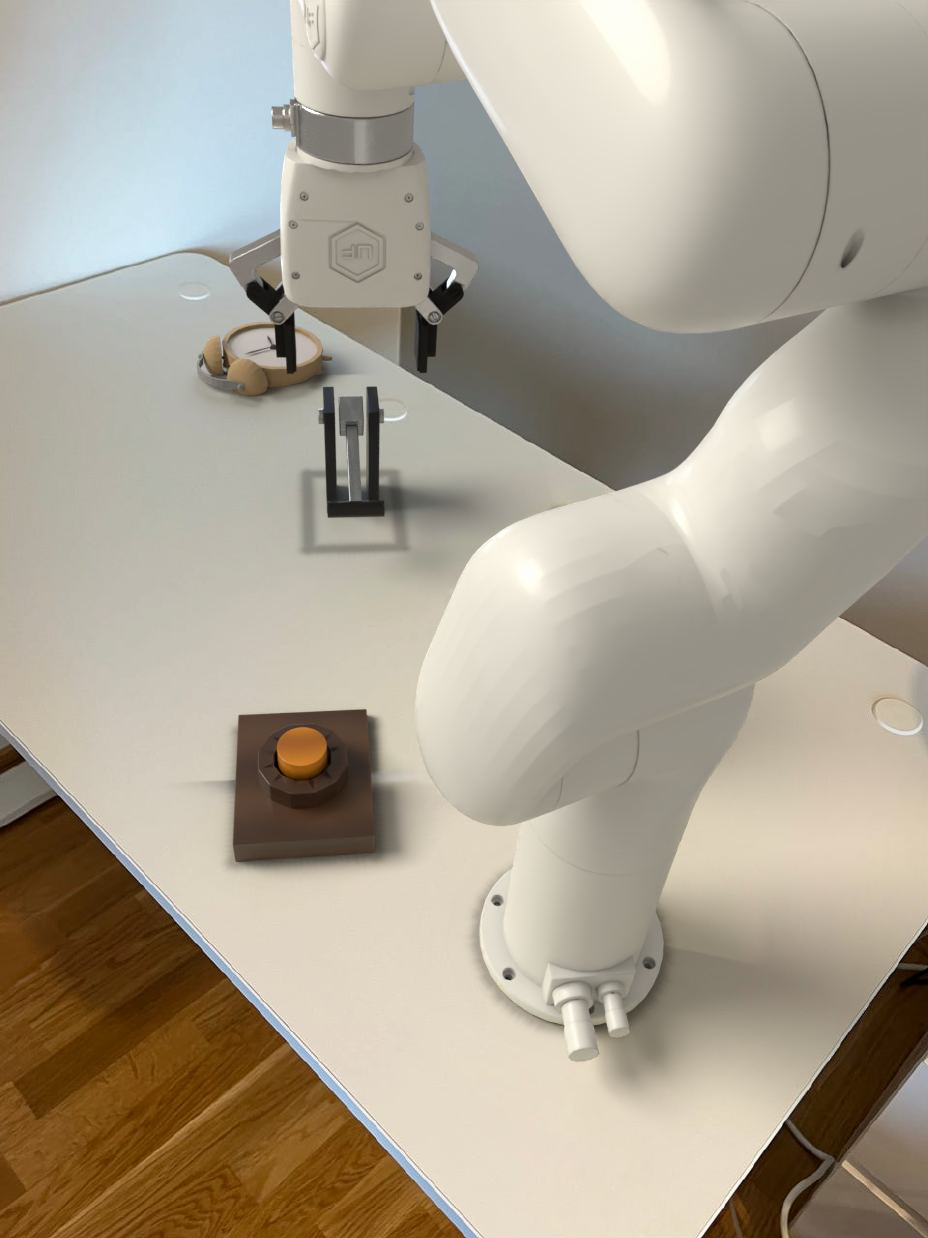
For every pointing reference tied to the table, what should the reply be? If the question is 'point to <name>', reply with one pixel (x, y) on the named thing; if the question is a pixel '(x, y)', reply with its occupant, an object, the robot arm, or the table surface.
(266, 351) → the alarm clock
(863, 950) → the table surface
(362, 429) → the switch lever
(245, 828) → the button block
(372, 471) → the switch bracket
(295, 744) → the light button
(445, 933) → the table surface
